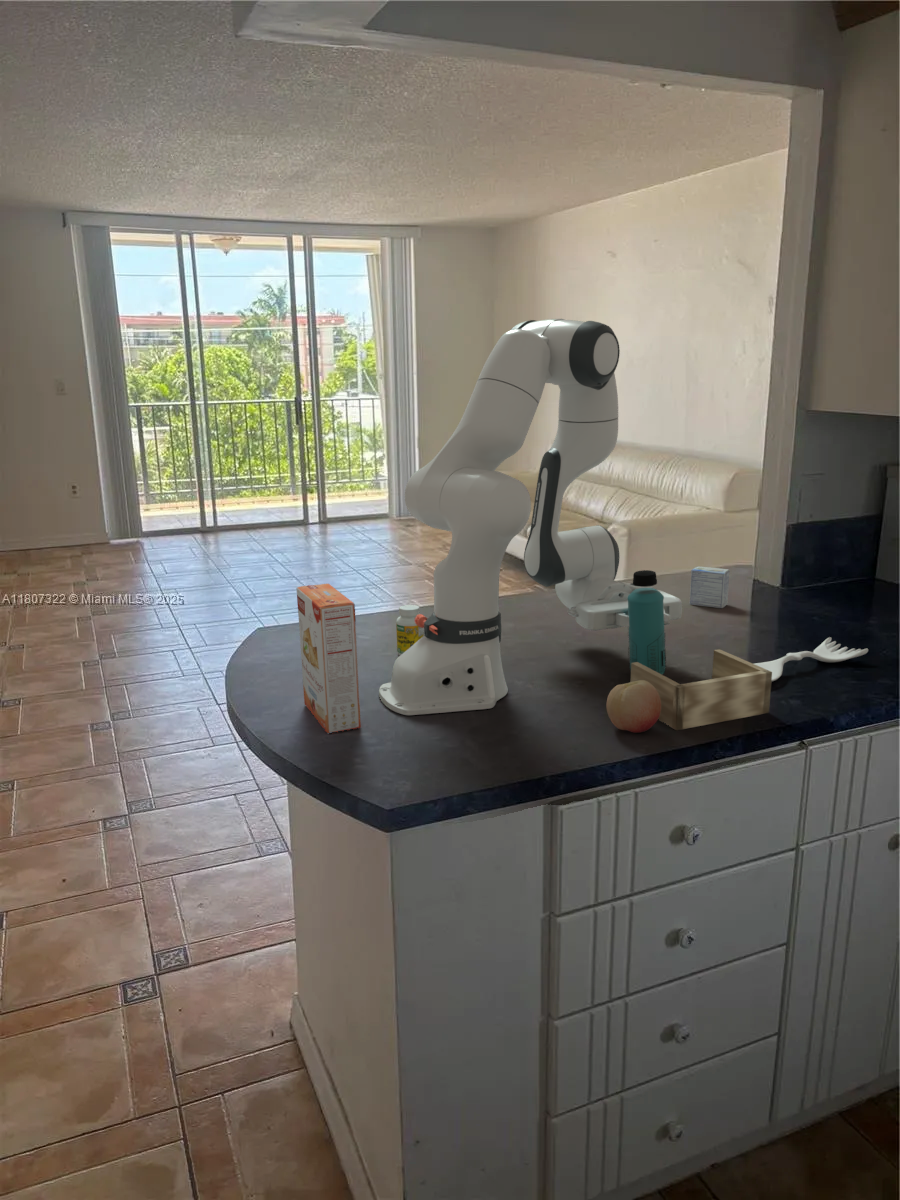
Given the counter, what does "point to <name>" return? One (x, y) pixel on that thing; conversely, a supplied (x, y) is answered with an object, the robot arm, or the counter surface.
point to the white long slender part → (813, 656)
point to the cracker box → (329, 656)
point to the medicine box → (709, 587)
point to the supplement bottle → (407, 628)
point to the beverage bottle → (646, 623)
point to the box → (711, 693)
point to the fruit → (634, 706)
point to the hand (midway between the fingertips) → (653, 622)
